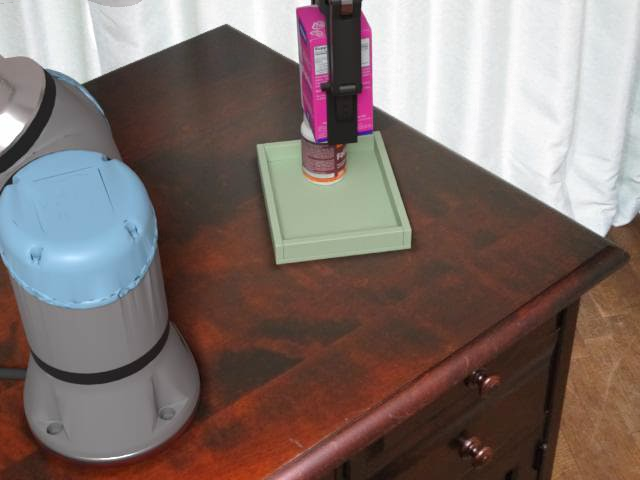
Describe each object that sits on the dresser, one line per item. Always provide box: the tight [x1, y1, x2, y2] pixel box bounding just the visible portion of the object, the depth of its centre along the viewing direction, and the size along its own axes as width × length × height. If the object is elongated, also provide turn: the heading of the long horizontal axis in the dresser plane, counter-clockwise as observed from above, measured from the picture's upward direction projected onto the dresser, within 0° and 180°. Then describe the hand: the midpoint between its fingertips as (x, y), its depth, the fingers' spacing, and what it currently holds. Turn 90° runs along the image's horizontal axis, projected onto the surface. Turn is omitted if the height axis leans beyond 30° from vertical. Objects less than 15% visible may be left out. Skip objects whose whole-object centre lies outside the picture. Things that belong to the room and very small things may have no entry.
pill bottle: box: [300, 113, 346, 186], centre depth 121 cm, size 5×5×8 cm
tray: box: [255, 130, 413, 265], centre depth 120 cm, size 14×17×2 cm
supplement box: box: [295, 4, 374, 143], centre depth 104 cm, size 6×6×12 cm
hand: (336, 119), depth 108 cm, fingers closed on supplement box, 6 cm apart
